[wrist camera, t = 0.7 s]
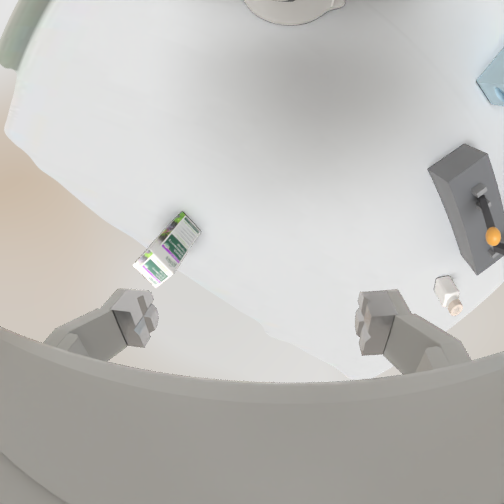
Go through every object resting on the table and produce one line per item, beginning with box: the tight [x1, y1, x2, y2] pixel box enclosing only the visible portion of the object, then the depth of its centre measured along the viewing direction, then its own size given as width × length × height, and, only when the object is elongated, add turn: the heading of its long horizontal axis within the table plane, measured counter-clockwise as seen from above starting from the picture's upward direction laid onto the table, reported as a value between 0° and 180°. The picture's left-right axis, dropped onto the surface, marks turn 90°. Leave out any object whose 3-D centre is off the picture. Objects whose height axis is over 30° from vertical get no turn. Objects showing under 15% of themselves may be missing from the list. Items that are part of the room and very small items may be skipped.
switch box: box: [428, 144, 504, 275], centre depth 37 cm, size 10×22×10 cm, turn 41°
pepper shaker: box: [434, 276, 463, 316], centre depth 47 cm, size 4×4×10 cm
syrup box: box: [133, 212, 201, 288], centre depth 48 cm, size 6×6×14 cm
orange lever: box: [478, 195, 501, 246], centre depth 29 cm, size 3×3×12 cm
